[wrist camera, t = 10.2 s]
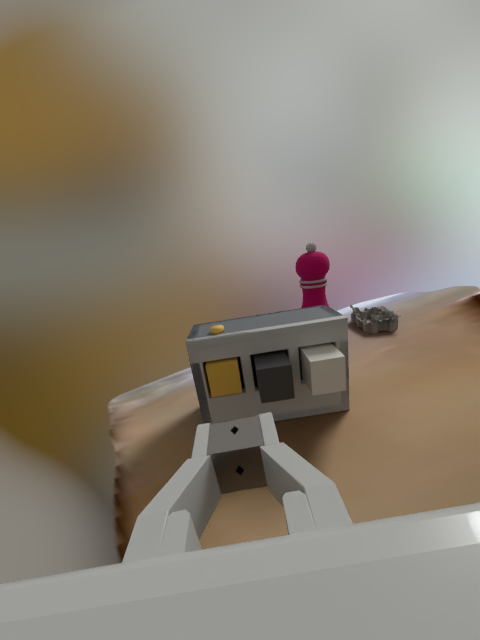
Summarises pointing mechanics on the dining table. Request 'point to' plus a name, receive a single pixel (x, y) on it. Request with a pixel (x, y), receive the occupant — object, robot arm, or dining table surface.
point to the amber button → (224, 376)
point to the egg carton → (375, 319)
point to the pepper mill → (313, 276)
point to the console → (263, 337)
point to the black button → (274, 376)
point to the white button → (323, 368)
